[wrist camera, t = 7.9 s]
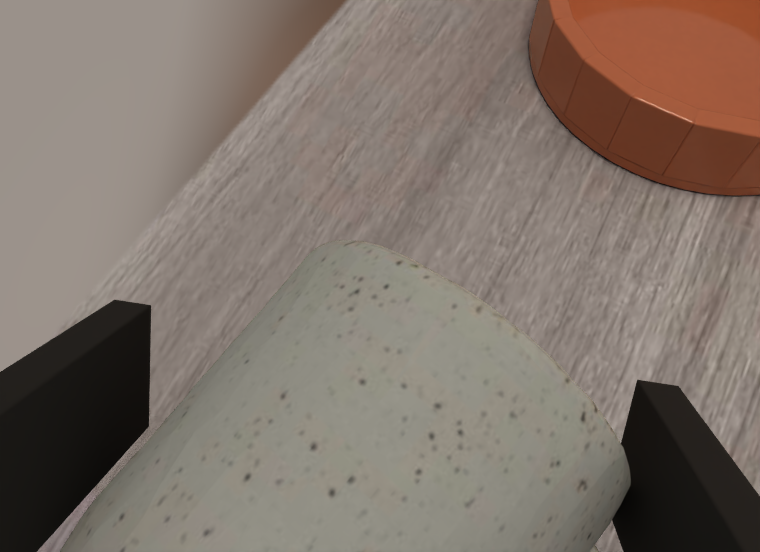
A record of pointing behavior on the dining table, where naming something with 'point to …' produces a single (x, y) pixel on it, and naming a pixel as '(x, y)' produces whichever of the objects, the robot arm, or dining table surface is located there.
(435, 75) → the dining table surface
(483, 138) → the dining table surface
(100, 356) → the robot arm
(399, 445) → the ceramic mug
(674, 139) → the holder
